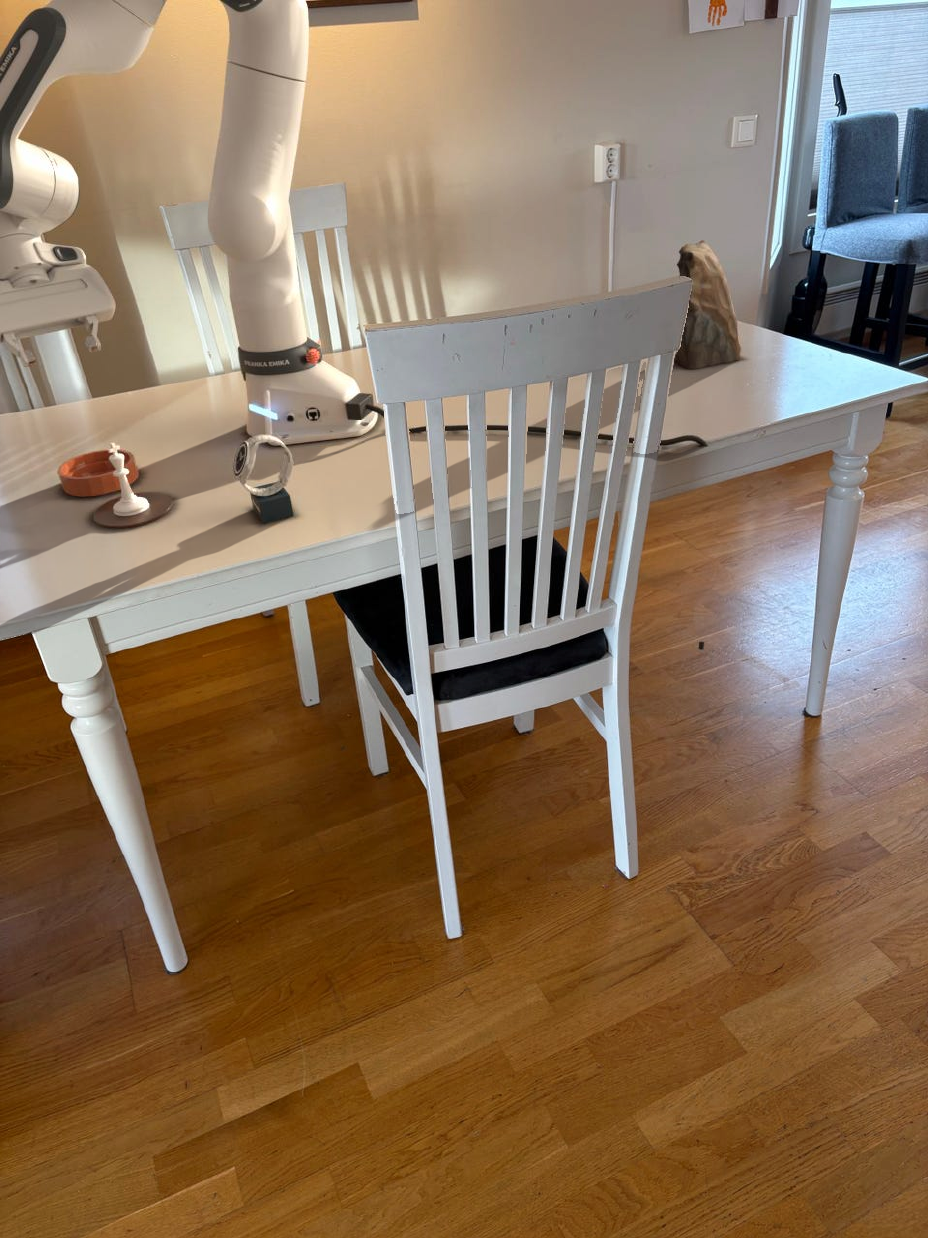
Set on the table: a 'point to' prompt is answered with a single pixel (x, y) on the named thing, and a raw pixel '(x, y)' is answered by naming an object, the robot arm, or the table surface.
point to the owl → (707, 311)
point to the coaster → (156, 510)
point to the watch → (270, 497)
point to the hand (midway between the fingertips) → (63, 356)
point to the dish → (94, 473)
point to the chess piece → (125, 488)
